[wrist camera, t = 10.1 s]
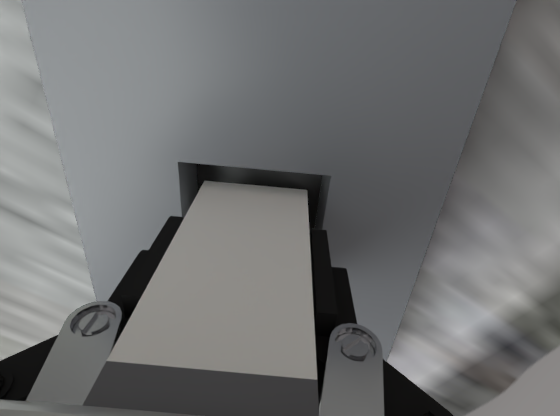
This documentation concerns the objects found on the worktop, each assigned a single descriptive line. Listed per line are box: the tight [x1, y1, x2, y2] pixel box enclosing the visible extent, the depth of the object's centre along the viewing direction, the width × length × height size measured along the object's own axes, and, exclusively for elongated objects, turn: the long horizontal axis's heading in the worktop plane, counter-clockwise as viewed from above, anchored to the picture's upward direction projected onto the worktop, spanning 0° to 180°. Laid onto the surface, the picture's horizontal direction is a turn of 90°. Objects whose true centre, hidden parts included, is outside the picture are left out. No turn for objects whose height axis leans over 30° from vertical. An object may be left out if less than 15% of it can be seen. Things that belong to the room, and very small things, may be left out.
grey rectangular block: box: [82, 181, 319, 416], centre depth 11 cm, size 4×4×9 cm
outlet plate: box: [21, 0, 517, 362], centre depth 15 cm, size 20×14×3 cm
